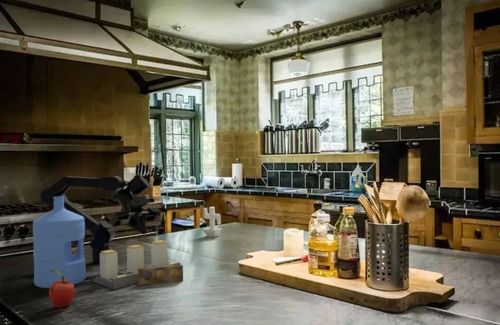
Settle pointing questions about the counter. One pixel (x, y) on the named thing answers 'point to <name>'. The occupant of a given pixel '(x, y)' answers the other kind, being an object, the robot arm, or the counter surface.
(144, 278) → the plaque
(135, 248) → the button middle
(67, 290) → the apple
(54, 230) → the water jug
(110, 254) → the button left
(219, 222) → the figurine
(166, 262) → the button right
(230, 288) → the counter surface
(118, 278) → the button board
